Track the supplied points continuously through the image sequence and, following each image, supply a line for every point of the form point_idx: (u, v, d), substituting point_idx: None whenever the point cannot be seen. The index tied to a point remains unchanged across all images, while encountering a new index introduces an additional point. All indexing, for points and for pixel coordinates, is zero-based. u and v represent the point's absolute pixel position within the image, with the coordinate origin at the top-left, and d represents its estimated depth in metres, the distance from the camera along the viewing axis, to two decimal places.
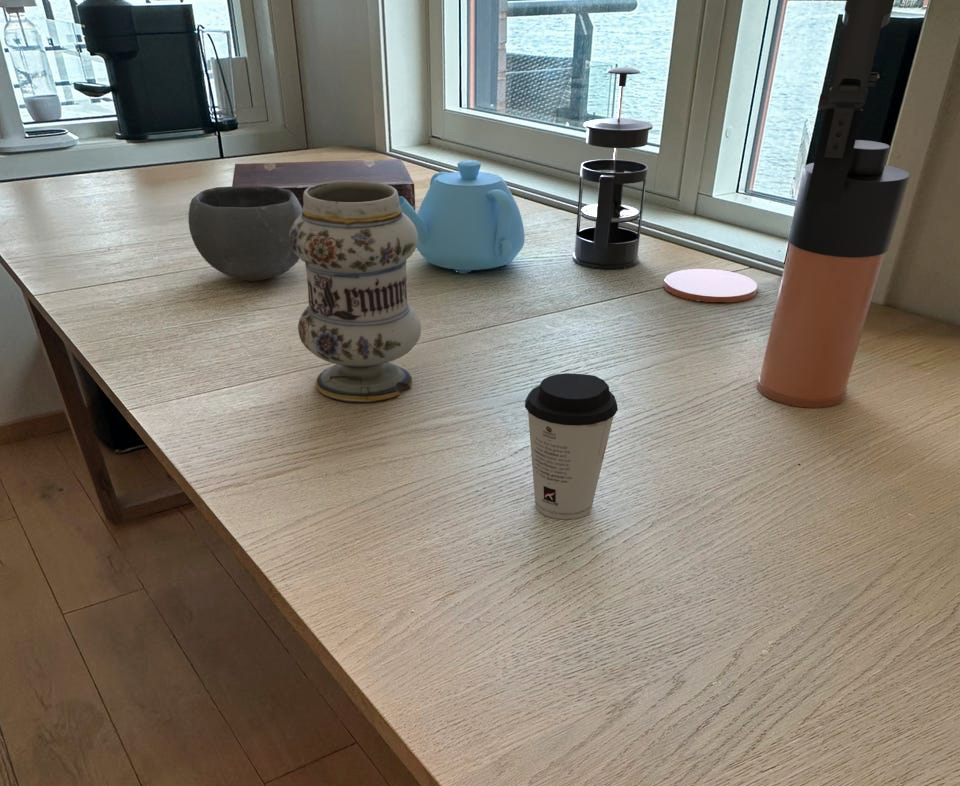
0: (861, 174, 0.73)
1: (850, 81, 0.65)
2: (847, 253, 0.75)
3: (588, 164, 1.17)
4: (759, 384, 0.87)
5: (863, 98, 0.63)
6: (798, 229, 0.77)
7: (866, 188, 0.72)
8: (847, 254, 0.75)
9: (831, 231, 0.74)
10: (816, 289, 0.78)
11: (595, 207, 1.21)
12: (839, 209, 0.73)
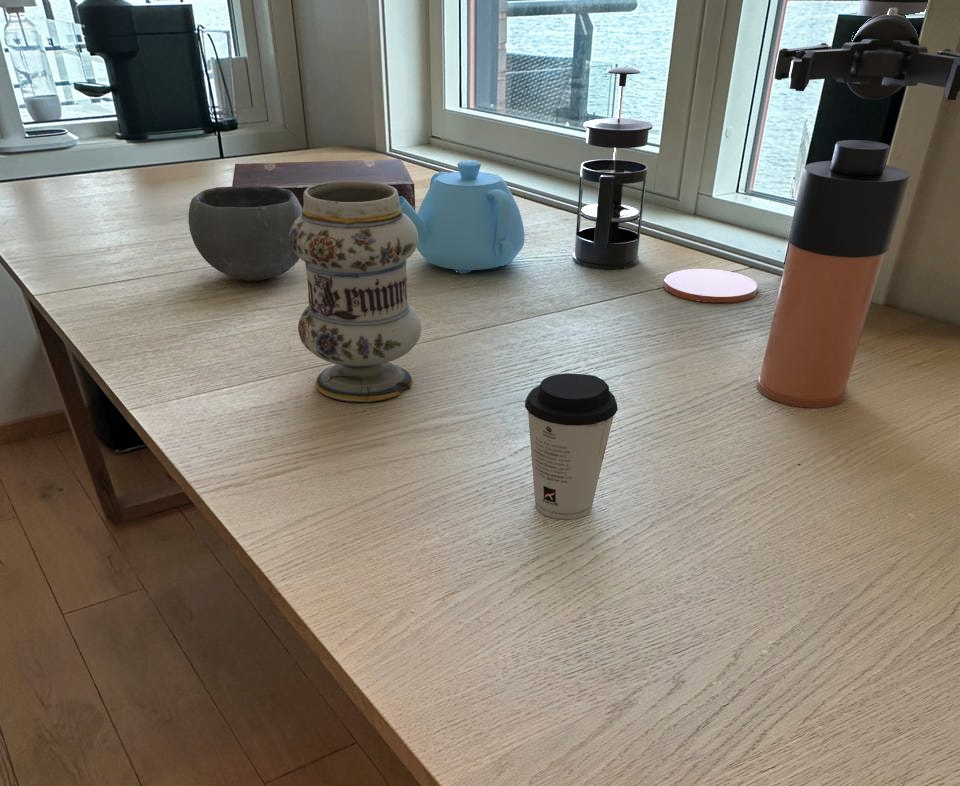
0: (861, 174, 0.73)
1: None
2: (847, 253, 0.75)
3: (588, 164, 1.17)
4: (759, 384, 0.87)
5: None
6: (798, 229, 0.77)
7: (866, 188, 0.72)
8: (847, 254, 0.75)
9: (831, 231, 0.74)
10: (816, 289, 0.78)
11: (595, 207, 1.21)
12: (839, 209, 0.73)
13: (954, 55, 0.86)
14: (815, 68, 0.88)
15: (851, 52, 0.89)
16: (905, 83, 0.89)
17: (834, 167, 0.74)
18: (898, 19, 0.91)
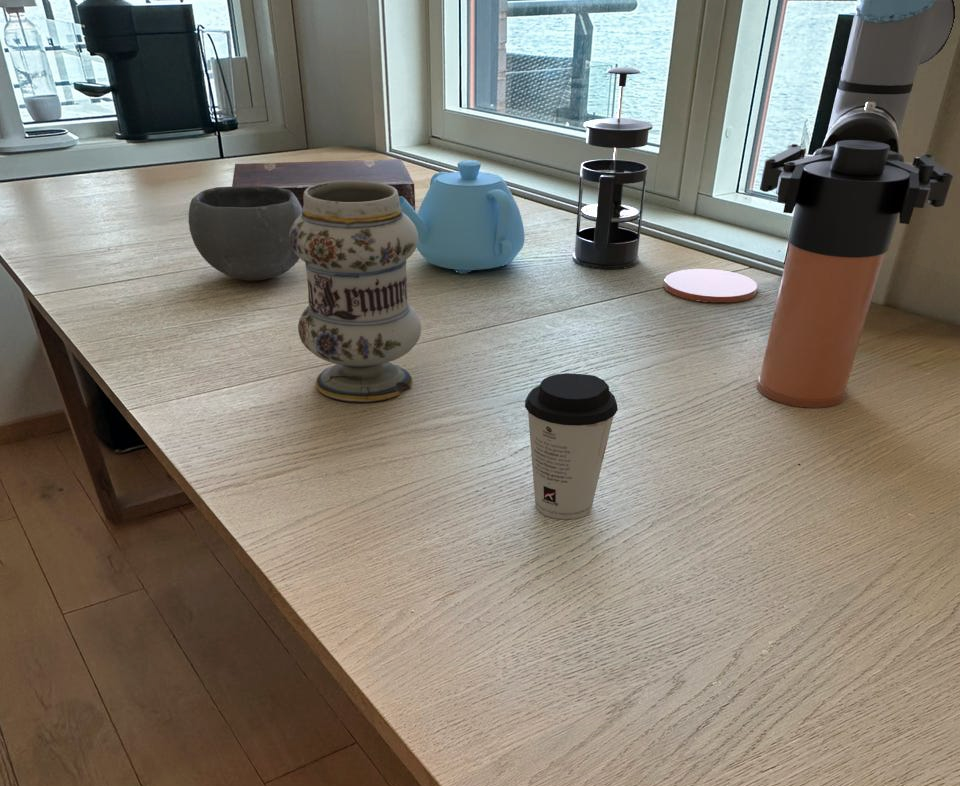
0: (861, 174, 0.73)
1: None
2: (847, 253, 0.75)
3: (588, 164, 1.17)
4: (759, 384, 0.87)
5: (942, 205, 0.76)
6: (798, 229, 0.77)
7: (866, 188, 0.72)
8: (847, 254, 0.75)
9: (831, 231, 0.74)
10: (816, 289, 0.78)
11: (595, 207, 1.21)
12: (839, 209, 0.73)
13: (924, 164, 0.79)
14: None
15: None
16: None
17: (834, 167, 0.74)
18: (875, 119, 0.84)
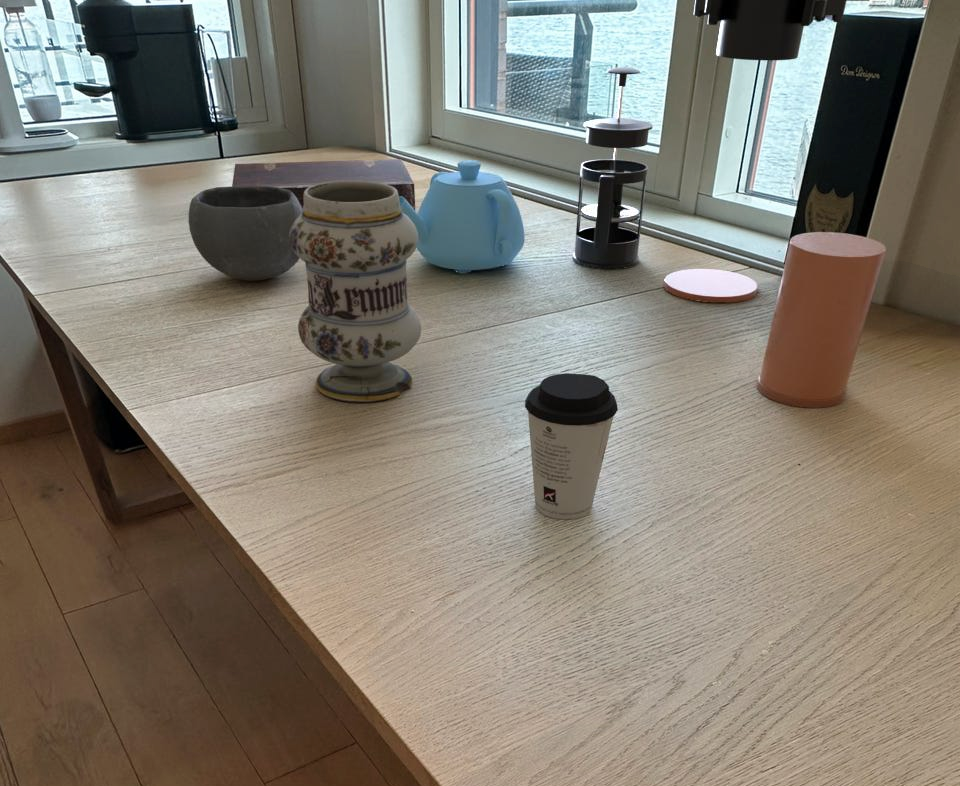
0: None
1: None
2: (761, 57, 0.91)
3: (588, 164, 1.17)
4: (759, 384, 0.87)
5: (840, 20, 0.93)
6: (722, 40, 0.93)
7: None
8: (761, 57, 0.91)
9: (747, 37, 0.91)
10: (816, 289, 0.78)
11: (595, 207, 1.21)
12: (753, 16, 0.90)
13: None
14: None
15: None
16: None
17: None
18: None
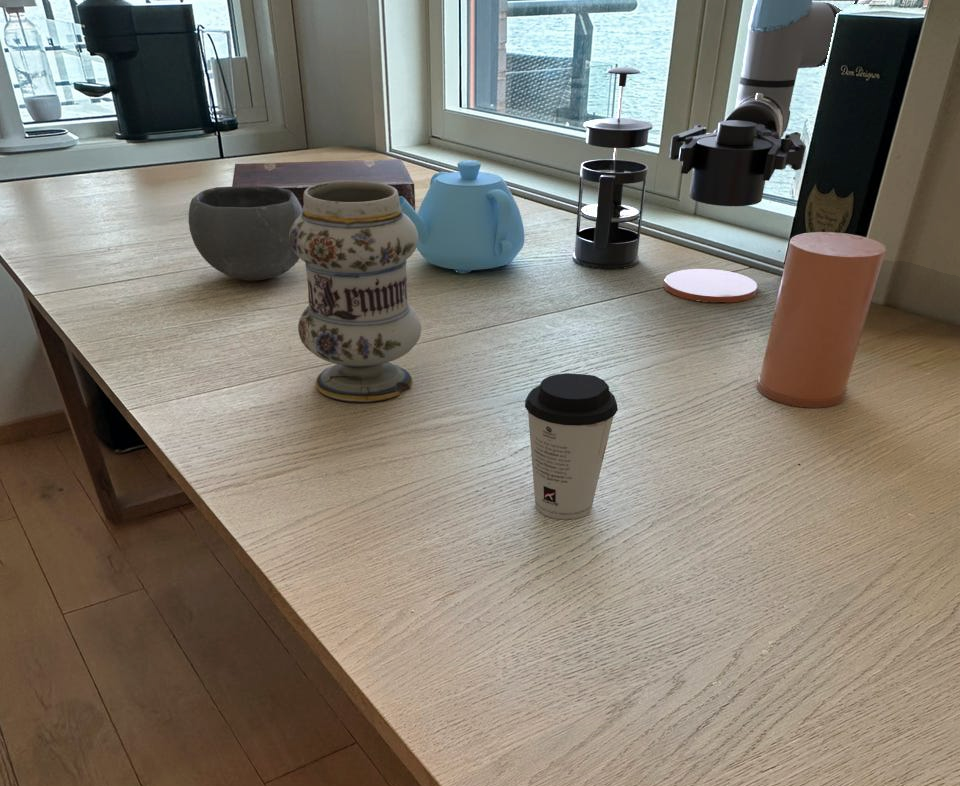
0: (736, 145, 1.01)
1: None
2: (728, 203, 1.03)
3: (588, 164, 1.17)
4: (759, 384, 0.87)
5: (799, 168, 1.04)
6: (694, 186, 1.04)
7: (738, 155, 0.99)
8: (728, 204, 1.03)
9: (715, 186, 1.02)
10: (816, 289, 0.78)
11: (595, 207, 1.21)
12: (720, 170, 1.01)
13: (790, 139, 1.07)
14: None
15: None
16: None
17: (718, 140, 1.02)
18: (758, 106, 1.11)
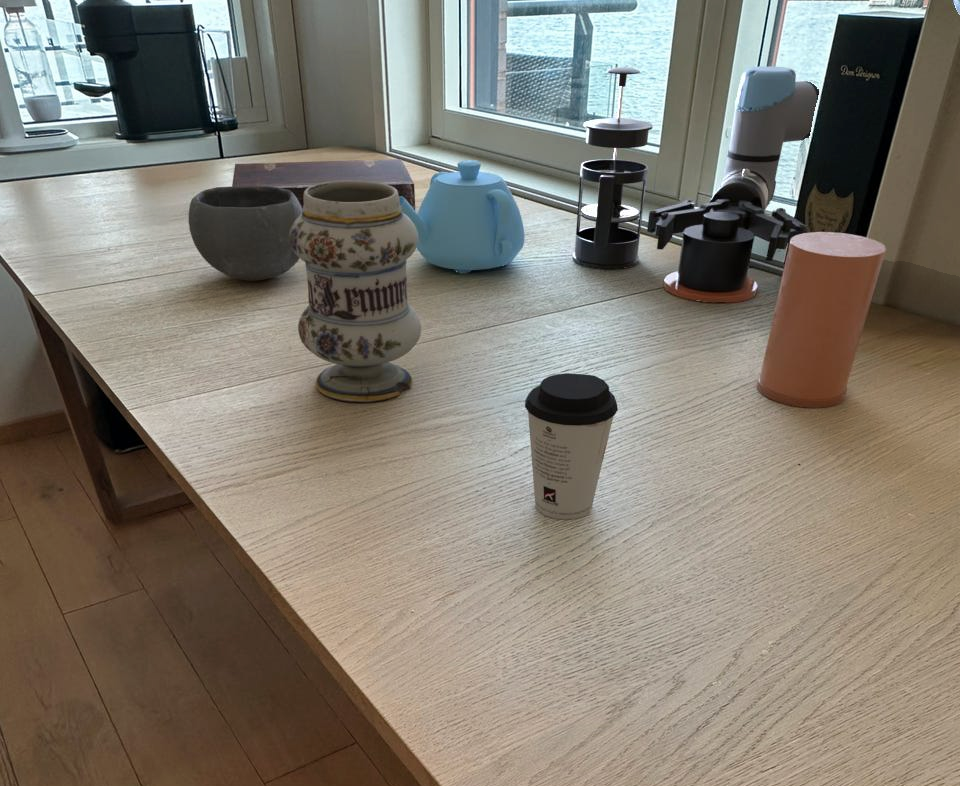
0: (720, 236, 1.07)
1: None
2: (713, 290, 1.09)
3: (588, 164, 1.17)
4: (759, 384, 0.87)
5: None
6: (681, 272, 1.11)
7: (721, 247, 1.06)
8: (713, 290, 1.09)
9: (701, 274, 1.08)
10: (816, 289, 0.78)
11: (595, 207, 1.21)
12: (705, 260, 1.07)
13: (782, 216, 1.13)
14: (677, 225, 1.15)
15: (706, 211, 1.16)
16: None
17: (703, 231, 1.08)
18: (744, 183, 1.17)
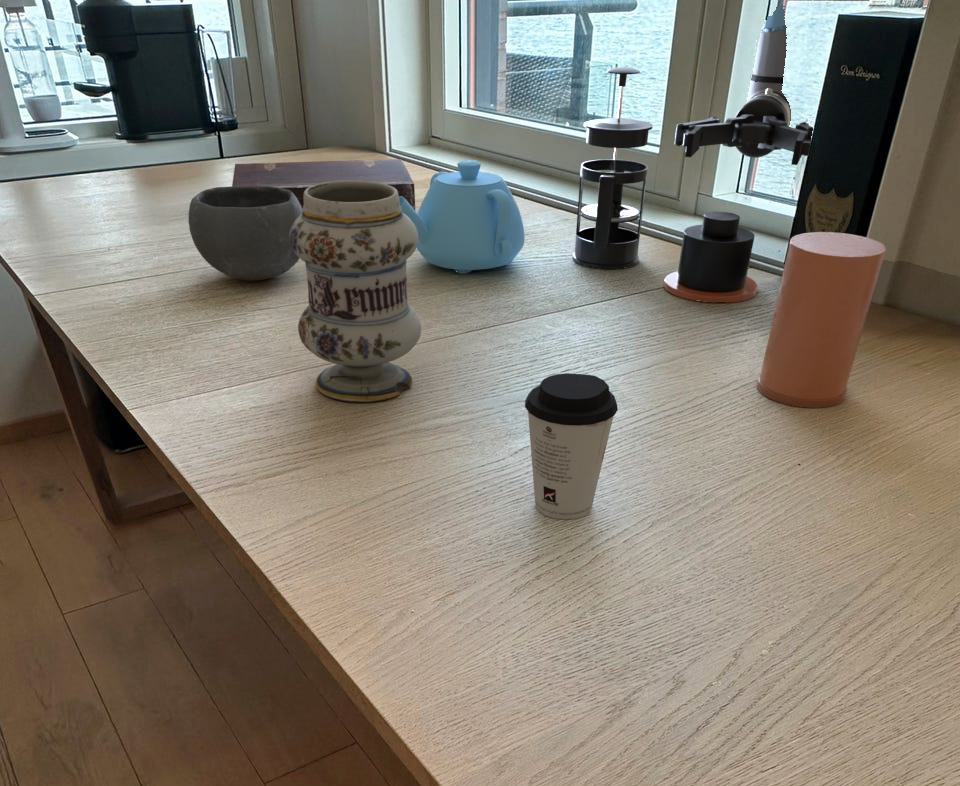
0: (720, 236, 1.07)
1: None
2: (713, 290, 1.09)
3: (588, 164, 1.17)
4: (759, 384, 0.87)
5: None
6: (681, 272, 1.11)
7: (721, 247, 1.06)
8: (713, 290, 1.09)
9: (701, 274, 1.08)
10: (816, 289, 0.78)
11: (595, 207, 1.21)
12: (705, 260, 1.07)
13: (805, 128, 1.17)
14: (704, 137, 1.18)
15: (732, 125, 1.19)
16: (772, 148, 1.19)
17: (703, 231, 1.08)
18: (768, 99, 1.21)
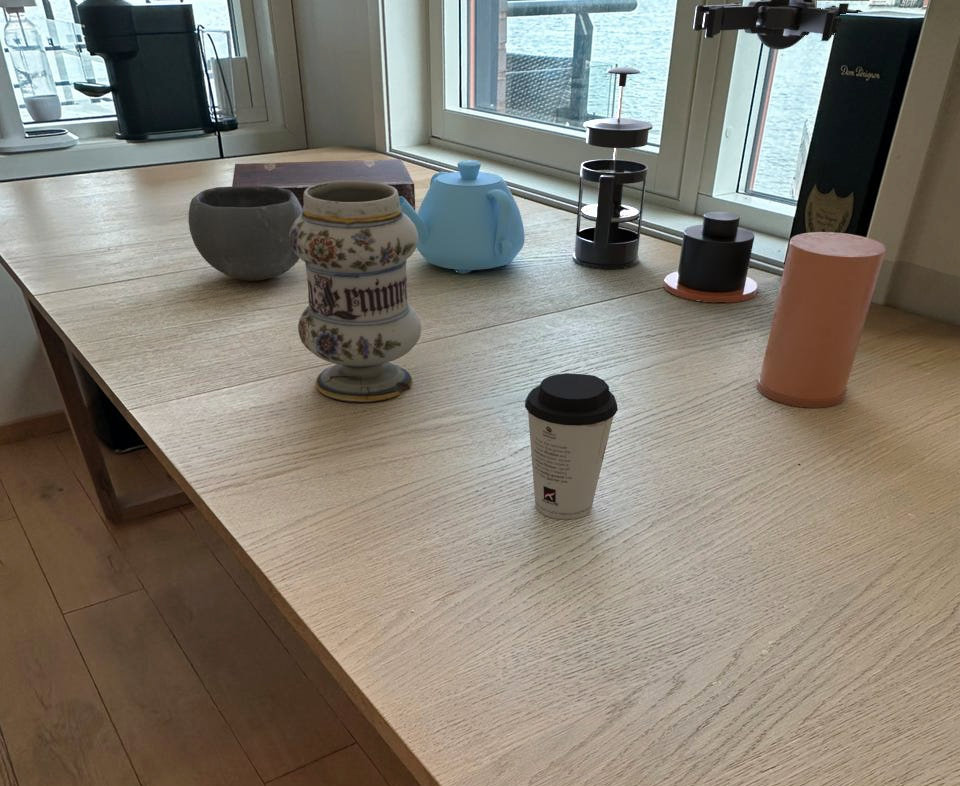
0: (720, 236, 1.07)
1: None
2: (713, 290, 1.09)
3: (588, 164, 1.17)
4: (759, 384, 0.87)
5: None
6: (681, 272, 1.11)
7: (721, 247, 1.06)
8: (713, 290, 1.09)
9: (701, 274, 1.08)
10: (816, 289, 0.78)
11: (595, 207, 1.21)
12: (705, 260, 1.07)
13: (836, 9, 1.08)
14: (725, 20, 1.10)
15: (755, 8, 1.11)
16: (799, 33, 1.11)
17: (703, 231, 1.08)
18: None
